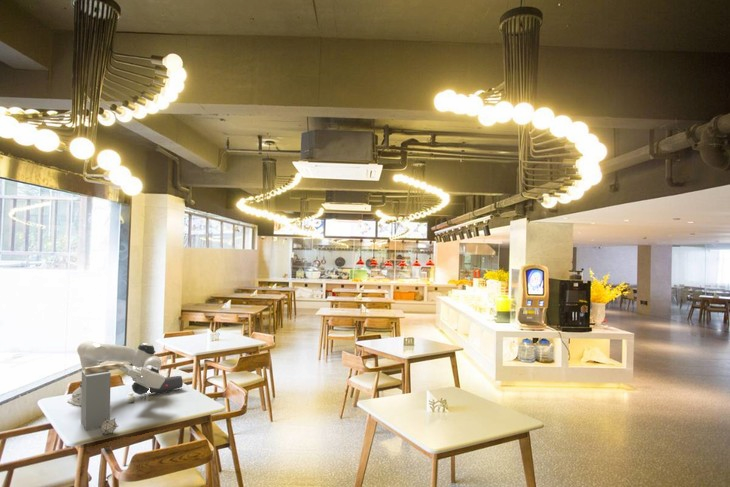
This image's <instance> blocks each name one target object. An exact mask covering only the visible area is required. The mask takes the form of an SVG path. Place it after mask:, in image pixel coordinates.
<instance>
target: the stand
mask: <svg viewBox="0 0 730 487" xmlns="http://www.w3.org/2000/svg"><path fill="white" fill-rule="evenodd" d="M111 376H112V374H111V372H110V370H109V371H102V372H95V373H88V374H85V370H83V371H82V370H81V381H82V393H81V406H80V409H81V410H80V422H81V425H82V426H83V428H84V430H85V431H90V430H95V429H98V428H100V429H101V427H99V426H101V425H102V424H103V423H104V421H105V419H106V420H111V381H112V380H111V378H112V377H111Z"/></svg>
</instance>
